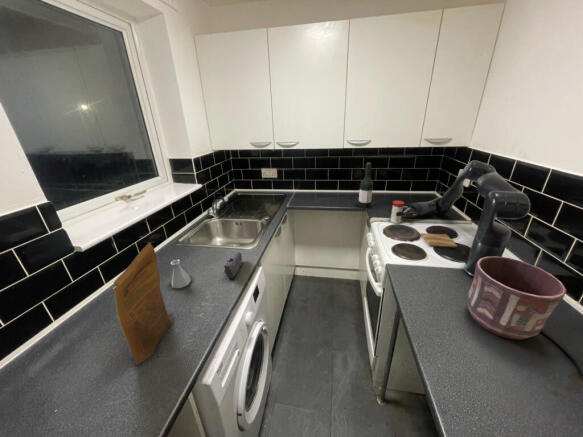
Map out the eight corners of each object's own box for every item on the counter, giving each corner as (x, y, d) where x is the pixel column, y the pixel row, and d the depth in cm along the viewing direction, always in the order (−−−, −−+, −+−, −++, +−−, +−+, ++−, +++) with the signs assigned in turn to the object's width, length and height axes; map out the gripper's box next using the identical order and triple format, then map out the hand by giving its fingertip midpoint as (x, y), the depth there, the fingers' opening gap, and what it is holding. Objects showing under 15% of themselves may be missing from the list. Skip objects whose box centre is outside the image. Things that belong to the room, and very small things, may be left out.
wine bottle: (369, 204, 162) (373, 161, 150) (371, 208, 155) (377, 164, 142) (357, 204, 163) (360, 161, 151) (359, 208, 155) (363, 164, 143)
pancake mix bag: (183, 312, 77) (161, 240, 65) (150, 370, 59) (111, 285, 48) (163, 313, 77) (138, 240, 66) (124, 370, 60) (80, 285, 48)
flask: (169, 290, 87) (162, 269, 83) (173, 279, 94) (166, 258, 89) (189, 286, 89) (184, 265, 85) (192, 275, 95) (186, 255, 91)
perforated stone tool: (235, 259, 105) (233, 246, 102) (246, 260, 104) (245, 247, 101) (222, 281, 91) (219, 266, 88) (234, 282, 90) (232, 267, 87)
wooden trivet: (457, 247, 107) (458, 246, 107) (429, 246, 109) (430, 245, 109) (446, 235, 118) (446, 234, 117) (421, 234, 120) (421, 233, 119)
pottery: (454, 323, 69) (470, 274, 62) (467, 293, 80) (482, 249, 73) (536, 363, 58) (569, 309, 50) (538, 321, 69) (565, 272, 61)
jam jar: (401, 223, 133) (404, 204, 128) (391, 223, 134) (394, 204, 129) (399, 219, 138) (402, 201, 133) (389, 219, 139) (392, 201, 134)
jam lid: (405, 207, 128) (405, 204, 128) (393, 206, 129) (394, 203, 129) (402, 203, 134) (402, 200, 133) (391, 203, 135) (391, 200, 134)
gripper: (410, 199, 141) (386, 202, 138) (428, 207, 128) (402, 210, 125) (408, 210, 144) (384, 213, 141) (425, 219, 131) (400, 223, 128)
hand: (393, 212), depth 133 cm, fingers closed on jam jar, 5 cm apart
